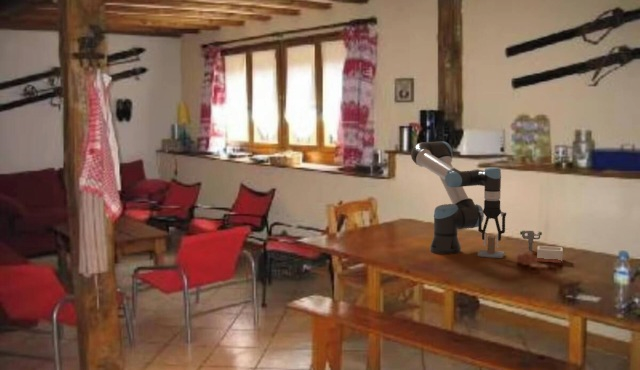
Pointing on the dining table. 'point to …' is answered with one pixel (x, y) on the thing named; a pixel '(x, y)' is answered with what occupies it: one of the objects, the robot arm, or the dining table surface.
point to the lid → (491, 250)
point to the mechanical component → (530, 237)
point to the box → (549, 252)
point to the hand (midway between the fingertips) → (491, 246)
